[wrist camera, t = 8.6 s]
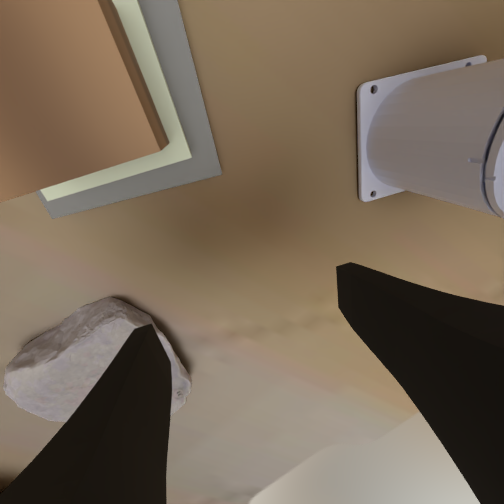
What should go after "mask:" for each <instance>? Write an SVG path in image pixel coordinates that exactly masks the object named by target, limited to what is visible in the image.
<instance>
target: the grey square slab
mask: <svg viewBox="0 0 504 504" xmlns="http://www.w3.org/2000/svg"><path fill="white" fill-rule="evenodd" d="M138 2H139V5H140V7H141V10H142V13H143V16H144V19H145V22H146V25H147V28H148V30H149V33H150V36H151V39H152V42H153V45H154V48H155V51H156V53H157V56H158V59H159V62H160V65H161V68H162V71H163V74H164V77H165V79H166V82H167V85H168V88H169V91H170V94H171V97H172V100H173V102H174V105H175V108H176V111H177V114H178V117H179V120H180V123H181V126H182V128H183V131H184V134H185V137H186V140H187V143H188V146H189V149H190V151H191V155H192V158H189V159H186V160H183V161H179V162H176V163H173V164H169V165H166V166H163V167H160V168H156V169H153V170H150V171H146V172H143V173H140V174H136V175H133V176H130V177H126V178H123V179H120V180H116V181H113V182H110V183H107V184H103V185H100V186H97V187H93V188H90V189H87V190H83V191H80V192H77V193H73V194H70V195H67V196H63V197H60V198H57V199H54V200H50V201H47V200H46V198H45V197H44V195H43V193H42V192H41V190H38V191H36V193H37V195H38V196H39V198H40V200H41V201H42V203H43V205H44V206H45V208H46V210H47V211H48V213H49V215H50V216H51V218H52V219H54V218H58V217H62V216H66V215H70V214H73V213H77V212H81V211H85V210H89V209H92V208H96V207H100V206H104V205H108V204H112V203H115V202H119V201H123V200H127V199H131V198H134V197H138V196H142V195H146V194H150V193H154V192H157V191H161V190H165V189H169V188H173V187H176V186H180V185H184V184H188V183H192V182H195V181H199V180H203V179H207V178H211V177H215V176H218V175H222V171H221V167H220V163H219V160H218V156H217V152H216V148H215V144H214V140H213V136H212V132H211V129H210V125H209V121H208V117H207V113H206V109H205V105H204V102H203V98H202V94H201V90H200V86H199V82H198V78H197V74H196V71H195V67H194V63H193V59H192V55H191V51H190V47H189V44H188V40H187V36H186V32H185V28H184V24H183V20H182V16H181V13H180V9H179V5H178V1H177V0H138Z"/></svg>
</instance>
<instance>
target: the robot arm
mask: <svg viewBox="0 0 504 504" xmlns="http://www.w3.org/2000/svg"><path fill="white" fill-rule="evenodd" d="M465 65H466V67H465ZM372 86H373V87H374V92H373V93H371V91H370V89H371V87H372ZM357 125H358V175H359V199H360V200H361V201H364V202H368V201H372V200H375V199H379V198H382V197H386V196H389V195H392V194H396V193H399V192H403V191H410V192H414V193H417V194H421V195H424V196H428V197H431V198H435V199H438V200H442V201H445V202H449V203H452V204H456V205H459V206H463V207H466V208H470V209H474V210H477V211H481V212H484V213H488V214H491V215H495V216H498V217H502V218H503V219H504V58H503V59H498V60H494V61H489V62H487V59H486V56H485V55H479V56H475V57H471V58H467V59H462V60H458V61H454V62H450V63H446V64H441V65H437V66H433V67H429V68H425V69H420V70H416V71H412V72H408V73H404V74H399V75H395V76H391V77H387V78H383V79H378V80H374V81H370V82H366V83H363V84H361V85H360V86H359V87H358V90H357ZM372 191H373V194H372V196H370V194H371V192H372ZM336 271H337V289H338V306H339V309H340V310H341V312H342V314H343V315H344V317H345V318H346V320H347V321H348V323H349V324H350V326H351V327H352V329H353V330H354V331H355V332H356V333H357V335H358V336H359V337H360V338H361V339H362V340H363V342H364V343H365V344H366V345H367V346H368V347H369V349H370V350H371V351H372V352H373V353H374V354H375V355H376V357H377V358H378V359H379V360H380V361H381V362H382V363H383V365H384V366H385V367H386V368H387V369H388V370H389V372H390V373H391V374H392V375H393V376H394V377H395V379H396V380H397V381H398V382H399V384H400V385H401V386H402V387H403V389H404V390H405V391H406V393H407V394H408V396H409V397H410V398H411V400H412V401H413V403H414V404H415V405H416V407H417V408H418V410H419V411H420V412H421V414H422V415H423V416H424V418H425V420H426V421H427V422H428V424H429V425H430V427H431V428H432V430H433V431H434V433H435V434H436V436H437V437H438V438H439V440H440V441H441V443H442V444H443V446H444V447H445V449H446V450H447V452H448V453H449V455H450V457H451V458H452V460H453V461H454V463H455V464H456V466H457V467H458V469H459V470H460V472H461V473H462V474H463V476H464V478H465V480H466V481H467V483H468V484H469V486H470V488H471V489H472V491H473V492H474V494H475V496H476V497H477V499H478V500H479V502H480V504H504V306H502V305H497V304H492V303H487V302H482V301H478V300H473V299H469V298H465V297H460V296H456V295H452V294H448V293H445V292H441V291H438V290H434V289H431V288H427V287H424V286H421V285H417V284H414V283H411V282H408V281H405V280H402V279H399V278H396V277H393V276H390V275H387V274H385V273H382V272H379V271H376V270H373V269H370V268H367V267H365V266H362V265H358V264H355V263H352V262H350V263H346V264H343V265H340V266H337V267H336ZM171 401H172V372H171V361H170V359H169V357H168V355H167V353H166V351H165V349H164V347H163V345H162V343H161V341H160V339H159V337H158V335H157V333H156V331H155V329H154V327H153V325H152V323H151V324H148V325H145V326H141V327H138V328H135V329H134V330H133V331H132V333H131V334H130V336H129V337H128V338H127V340H126V341H125V343H124V344H123V346H122V347H121V349H120V350H119V352H118V353H117V354H116V356H115V357H114V359H113V360H112V362H111V363H110V365H109V366H108V367H107V369H106V370H105V372H104V373H103V374H102V376H101V377H100V379H99V380H98V381H97V383H96V384H95V385H94V387H93V388H92V389H91V391H90V392H89V393H88V395H87V396H86V397H85V399H84V400H83V401H82V402H81V404H80V405H79V406H78V408H77V409H76V410H75V412H74V413H73V414H72V415H71V417H70V418H69V419H68V420H67V422H66V423H65V424H64V425H63V426H62V428H61V429H60V430H59V431H58V432H57V434H56V435H55V436H54V437H53V438H52V439H51V440H50V442H49V443H48V444H47V445H46V446H45V447H44V448H43V450H42V451H41V452H40V453H39V454H38V455H37V456H36V457H35V459H34V460H33V461H32V462H31V463H30V464H29V465H28V466H27V467H26V468H25V469H24V470H23V471H22V472H21V473H20V474H19V475H18V477H17V478H16V479H15V480H14V481H13V482H12V483H11V484H10V485H9V486H8V487H7V488H6V489H5V490H4V491H3V492H2V493H1V494H0V504H166V468H167V452H168V439H169V427H170V414H171Z"/></svg>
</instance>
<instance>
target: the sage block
mask: <svg viewBox="0 0 504 504" xmlns="http://www.w3.org/2000/svg"><path fill="white" fill-rule="evenodd" d="M112 2H113V3H114V5H115V7H116V9H117V11H118V14H119V16H120V19H121V21H122V24H123V27H124V29H125V32H126V34H127V37H128V39H129V42H130V44H131V47H132V49H133V52H134V54H135V57H136V59H137V62H138V64H139V67H140V69H141V72H142V74H143V77H144V79H145V82H146V84H147V87H148V89H149V92H150V94H151V97H152V99H153V102H154V105H155V107H156V110H157V112H158V115H159V117H160V120H161V122H162V125H163V127H164V130H165V132H166V135H167V137H168V140H169V142H170V143H169V144H168V145H167V146H166V147H165V148H164V149H163V150H161V151H160V152H157V153H153V154H150V155H147V156H144V157H141V158H138V159H135V160H132V161H128V162H125V163H122V164H119V165H116V166H113V167H110V168H107V169H103V170H100V171H97V172H94V173H91V174H88V175H85V176H82V177H78V178H75V179H72V180H69V181H66V182H63V183H60V184H57V185H54V186H50V187H47V188H44V189H41V192H42V193H43V195H44V197H45V198H46V200H47V201H50V200H54V199H57V198H60V197H63V196H67V195H70V194H73V193H77V192H80V191H83V190H87V189H90V188H93V187H97V186H100V185H103V184H107V183H110V182H113V181H116V180H120V179H123V178H126V177H130V176H133V175H136V174H140V173H143V172H146V171H150V170H153V169H156V168H160V167H163V166H166V165H169V164H173V163H176V162H179V161H183V160H186V159H189V158H192V155H191V151H190V149H189V146H188V143H187V140H186V137H185V134H184V131H183V128H182V126H181V123H180V120H179V117H178V114H177V111H176V108H175V105H174V102H173V100H172V97H171V94H170V91H169V88H168V85H167V82H166V79H165V77H164V74H163V71H162V68H161V65H160V62H159V59H158V56H157V53H156V51H155V48H154V45H153V42H152V39H151V36H150V33H149V30H148V28H147V25H146V22H145V19H144V16H143V13H142V10H141V7H140V5H139V2H138V0H112Z"/></svg>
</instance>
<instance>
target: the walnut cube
mask: <svg viewBox="0 0 504 504" xmlns="http://www.w3.org/2000/svg"><path fill="white" fill-rule="evenodd" d="M169 143H170V142H169V140H168V137H167V135H166V132H165V130H164V127H163V125H162V122H161V120H160V117H159V115H158V112H157V110H156V107H155V105H154V102H153V99H152V97H151V94H150V92H149V89H148V87H147V84H146V82H145V79H144V77H143V74H142V72H141V69H140V67H139V64H138V62H137V59H136V57H135V54H134V52H133V49H132V47H131V44H130V42H129V39H128V37H127V34H126V32H125V29H124V27H123V24H122V21H121V19H120V16H119V14H118V11H117V9H116V7H115V5H114V3H113V2H112V0H0V202H4V201H7V200H10V199H13V198H16V197H19V196H22V195H25V194H29V193H32V192H35V191H38V190H41V189H44V188H47V187H50V186H54V185H57V184H60V183H63V182H66V181H69V180H72V179H75V178H78V177H82V176H85V175H88V174H91V173H94V172H97V171H100V170H103V169H107V168H110V167H113V166H116V165H119V164H122V163H125V162H128V161H132V160H135V159H138V158H141V157H144V156H147V155H150V154H153V153H157V152H160V151H161V150H163V149H164V148H165V147H166V146H167V145H168V144H169Z"/></svg>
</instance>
